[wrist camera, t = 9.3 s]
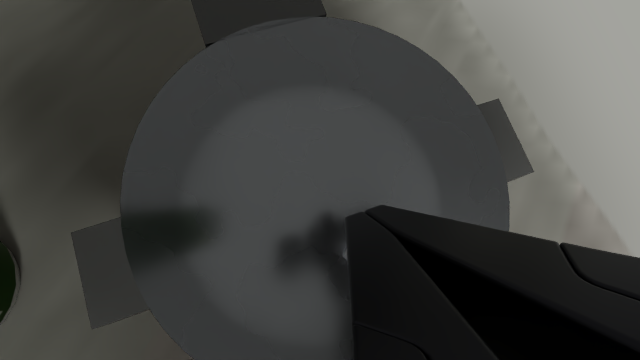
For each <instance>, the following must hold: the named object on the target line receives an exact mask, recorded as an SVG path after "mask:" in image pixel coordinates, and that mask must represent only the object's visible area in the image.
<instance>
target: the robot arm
mask: <svg viewBox="0 0 640 360" xmlns="http://www.w3.org/2000/svg"><path fill="white" fill-rule="evenodd" d="M345 231H346V247H347V262H348V277H349V293H350V308H351V323H352V344H353V360H640V258H637V257H632V256H627V255H622V254H617V253H612V252H607V251H602V250H597V249H591V248H587V247H582V246H578V245H573V244H568V243H561V244H560V245H559V244H558V243H557V242H555V241H550V240H546V239H541V238H536V237H532V236H527V235H522V234H518V233H513V232H508V231H504V230H499V229H494V228H489V227H485V226H480V225H475V224H471V223H466V222H461V221H457V220H452V219H447V218H443V217H438V216H433V215H428V214H424V213H419V212H414V211H410V210H405V209H400V208H396V207H391V206H386V205H378V206H375V207H373V208H370V209H367V210H365V212H358V213H355V214H352V215H349V216H347V217H346V218H345Z"/></svg>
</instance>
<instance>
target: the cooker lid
mask: <svg viewBox="0 0 640 360" xmlns="http://www.w3.org/2000/svg"><path fill="white" fill-rule="evenodd" d="M191 2H192V5H193V8H194V11H195V14H196V17H197V20H198V23H199V27H200V30H201V33H202V36H203V39H204V42H205V45H206V48H205V49H204V50H202V51H201V52H199V53H198V54H197V55H196V56H194V57H193V58H192V59H191V60H189V61H188V62H187V63H186V64H184V65H183V66H182V67H181V68H180V69H179V70H178V71H177V72H176V73H175V74H174V75H173V76H172V77H171V78H170V79H169V80H168V81H167V82H166V83H165V85H164V86H163V87H162V89H161V90H160V91H159V93H158V94H157V95H156V97H155V98H154V99H153V101H152V102H151V103H150V105H149V107H148V109H147V111H146V112H145V114H144V116H143V118H142V120H141V121H140V123H139V125H138V127H137V130H136V132H135V135H134V138H133V140H132V143H131V145H130V148H129V151H128V155H127V159H126V163H125V167H124V172H123V178H122V187H121V197H120V210H121V229H122V235H123V240H124V246H125V252H126V256H127V259H128V262H129V265H130V268H131V271H132V274H133V277H134V280H135V282H136V284H137V286H138V288H139V290H140V292H141V294H142V296H143V298H144V300H145V302H146V304H147V306H148V308H149V309H150V310H151V312H152V313H153V315H154V316H155V318H156V319H157V321H158V322H159V323H160V325H161V326H162V328H163V329H164V330H165V331H166V332H167V333H168V335H169V336H170V337H171V338H172V339H173V340H174V341H175V342H176V343H177V344H178V345H179V346H180V347H181V349H182V350H183V351H185V352H186V353H187V354H188V355H190V356H191V357H192V358H193V359H195V360H353V344H352V323H351V308H350V293H349V277H348V262H347V247H346V231H345V218H346V217H347V216H349V215H352V214H355V213H358V212H365V210H367V209H370V208H373V207H375V206H378V205H386V206H391V207H396V208H400V209H405V210H410V211H414V212H419V213H424V214H428V215H433V216H438V217H443V218H447V219H452V220H457V221H461V222H466V223H471V224H475V225H480V226H485V227H489V228H494V229H499V230H504V231H508V232H509V194H508V186H507V178H506V174H505V170H504V166H503V162H502V158H501V154H500V151H499V149H498V146H497V144H496V141H495V138H494V136H493V133H492V131H491V129H490V127H489V126H488V124H487V122H486V120H485V118H484V116H483V114H482V112H481V111H480V109H479V108H478V106H477V105H476V104H475V102H474V101H473V99H472V98H471V96H470V95H469V93H468V92H467V91H466V90H465V89H464V88H463V86H462V85H461V84H460V83H459V82H458V81H457V80H456V78H455V77H454V76H453V75H452V74H451V73H449V72H448V71H447V70H446V69H445V68H444V67H443V66H442V65H441V64H440V63H438V62H437V61H436V60H435V59H433V58H432V57H431V56H429V55H428V54H426V53H425V52H424V51H422V50H421V49H420V48H418V47H416V46H415V45H413V44H411V43H409V42H407V41H406V40H404V39H402V38H400V37H398V36H396V35H394V34H391V33H389V32H386V31H384V30H382V29H379V28H377V27H373V26H370V25H366V24H363V23H359V22H356V21H350V20H344V19H338V18H330V17H326V12H325V10H324V7H323V4H322V2H321V0H191Z"/></svg>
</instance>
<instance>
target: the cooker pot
mask: <svg viewBox="0 0 640 360" xmlns="http://www.w3.org/2000/svg"><path fill="white" fill-rule="evenodd" d="M477 106H478V108H479V109H480V111H481V112H482V114H483V116H484V118H485V120H486V122H487V124H488V126H489V127H490V129H491V131H492V133H493V136H494V138H495V141H496V144H497V146H498V149H499V151H500V154H501V158H502V162H503V166H504V170H505V174H506V178H507V182H509V181H512V180H515V179H517V178H520V177H522V176H525V175H527V174H530V173H532V172H534V171H533V169H532V166H531V164H530V162H529V160H528V158H527V156H526V154H525V152H524V150H523V148H522V146H521V144H520V142H519V140H518V138H517V135H516V133H515V131H514V129H513V127H512V125H511V123H510V121H509V119H508V117H507V115H506V113H505V111H504V109H503V107H502V104H501V102H500V100H499V99H496V100H492V101H489V102H486V103H483V104H480V105H477ZM71 235H72V240H73V245H74V249H75V254H76V259H77V263H78V268H79V273H80V277H81V282H82V287H83V291H84V296H85V300H86V305H87V310H88V314H89V319H90V324H91V328H92V329H94V328H98V327H101V326H105V325H108V324H111V323H114V322H116V321H119V320H122V319H125V318H128V317H130V316H133V315H136V314H139V313H142V312H144V311H147V310H150V309H149V308H148V306H147V304H146V302H145V300H144V298H143V296H142V294H141V292H140V290H139V288H138V286H137V284H136V282H135V280H134V277H133V274H132V271H131V268H130V265H129V262H128V259H127V256H126V252H125V246H124V240H123V235H122V229H121V217H119V218H116V219H113V220H110V221H107V222H103V223H100V224H97V225H94V226H91V227H87V228H84V229H81V230H78V231H75V232H72V233H71Z"/></svg>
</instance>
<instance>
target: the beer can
mask: <svg viewBox="0 0 640 360" xmlns="http://www.w3.org/2000/svg"><path fill="white" fill-rule="evenodd" d="M19 288H20V274H19V267H18V265H17V262H16V260H15V258H14V256H13V254H12V252H11V251H10V250H9V249H8V248H7V247H6V246H5V245H4V244H3V243H2V242H1V241H0V325H1V324H2V323H3V322H4V321H5V320H6V318H7V317H8V315H9V313H10V312H11V310H12V308H13V307H14V305H15V303H16V300H17V296H18V292H19Z"/></svg>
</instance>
